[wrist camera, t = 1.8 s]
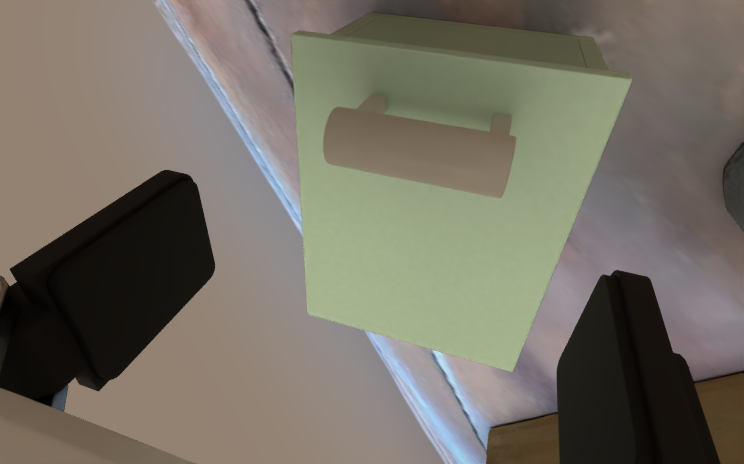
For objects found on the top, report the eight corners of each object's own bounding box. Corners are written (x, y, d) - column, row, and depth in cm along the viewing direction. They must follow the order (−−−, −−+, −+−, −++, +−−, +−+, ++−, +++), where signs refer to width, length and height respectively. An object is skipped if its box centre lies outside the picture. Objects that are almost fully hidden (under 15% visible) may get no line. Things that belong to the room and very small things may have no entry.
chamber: (370, 11, 26) (299, 49, 18) (594, 37, 23) (620, 94, 16) (361, 222, 35) (312, 305, 28) (519, 258, 33) (513, 361, 25)
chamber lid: (298, 30, 18) (221, 64, 14) (629, 73, 15) (665, 133, 11) (312, 305, 28) (270, 376, 24) (513, 362, 25) (507, 453, 21)
